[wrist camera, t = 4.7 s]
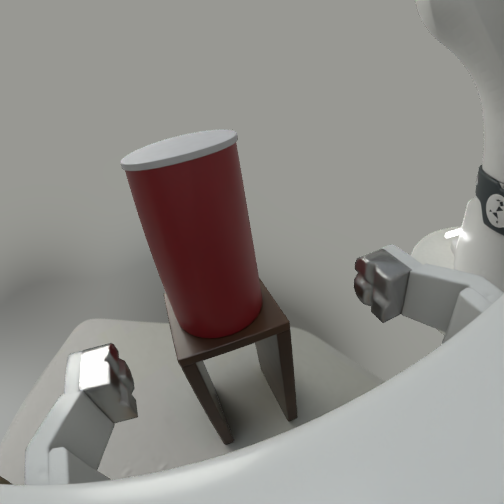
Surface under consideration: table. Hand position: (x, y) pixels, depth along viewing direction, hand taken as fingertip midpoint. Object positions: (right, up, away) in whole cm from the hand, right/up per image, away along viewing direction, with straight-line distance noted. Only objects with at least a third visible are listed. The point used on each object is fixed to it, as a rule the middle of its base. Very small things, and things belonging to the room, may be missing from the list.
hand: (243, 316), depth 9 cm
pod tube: (-2, -1, +8) cm, 8 cm away
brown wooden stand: (0, -10, +14) cm, 17 cm away
